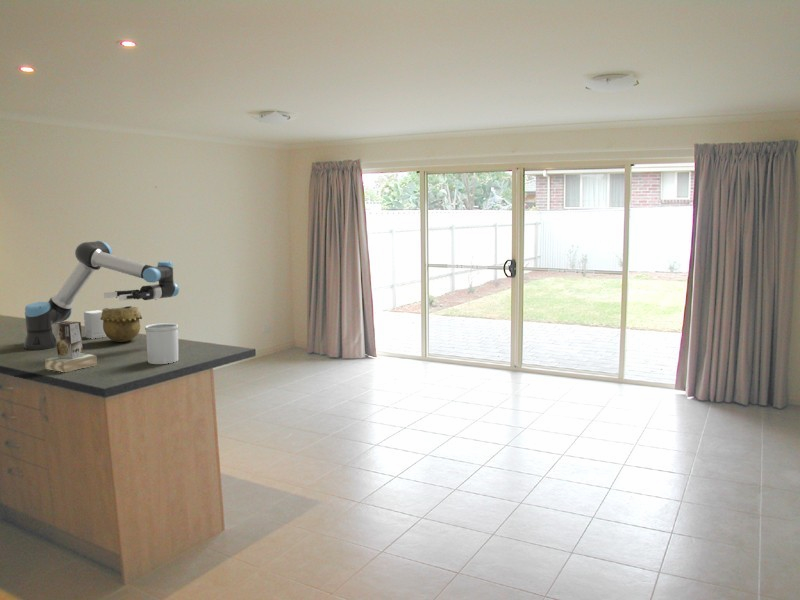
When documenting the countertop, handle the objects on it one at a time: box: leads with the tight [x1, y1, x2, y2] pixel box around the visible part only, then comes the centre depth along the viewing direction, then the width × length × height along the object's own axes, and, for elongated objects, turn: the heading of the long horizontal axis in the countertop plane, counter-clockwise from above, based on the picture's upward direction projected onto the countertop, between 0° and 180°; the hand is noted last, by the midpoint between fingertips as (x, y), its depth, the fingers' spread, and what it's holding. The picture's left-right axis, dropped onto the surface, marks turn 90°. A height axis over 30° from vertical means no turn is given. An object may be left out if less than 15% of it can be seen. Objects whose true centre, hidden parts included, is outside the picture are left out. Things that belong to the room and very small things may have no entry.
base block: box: [44, 352, 98, 372], centre depth 281 cm, size 14×16×5 cm
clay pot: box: [100, 305, 143, 343], centre depth 337 cm, size 21×21×20 cm
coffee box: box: [54, 320, 84, 359], centre depth 280 cm, size 9×6×16 cm
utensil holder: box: [144, 322, 179, 365], centre depth 293 cm, size 15×15×18 cm
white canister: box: [83, 309, 108, 340], centre depth 349 cm, size 9×9×15 cm
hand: (111, 296), depth 303 cm, fingers open, 13 cm apart
